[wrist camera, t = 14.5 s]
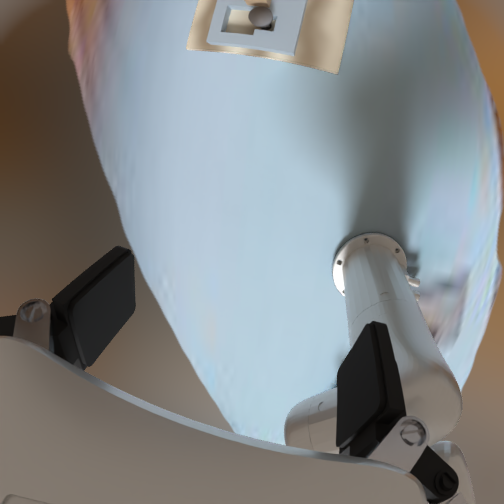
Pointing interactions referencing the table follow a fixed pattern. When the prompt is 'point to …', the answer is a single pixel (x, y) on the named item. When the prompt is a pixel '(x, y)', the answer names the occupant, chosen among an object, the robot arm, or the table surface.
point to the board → (245, 22)
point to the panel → (278, 41)
